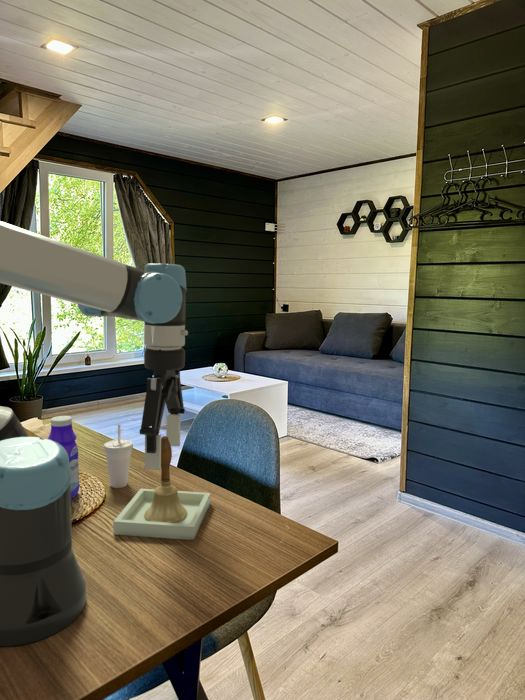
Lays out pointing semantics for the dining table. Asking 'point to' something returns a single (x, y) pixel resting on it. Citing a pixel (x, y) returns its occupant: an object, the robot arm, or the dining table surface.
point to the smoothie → (118, 460)
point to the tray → (137, 525)
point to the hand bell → (165, 493)
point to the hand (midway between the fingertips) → (163, 456)
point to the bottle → (67, 446)
